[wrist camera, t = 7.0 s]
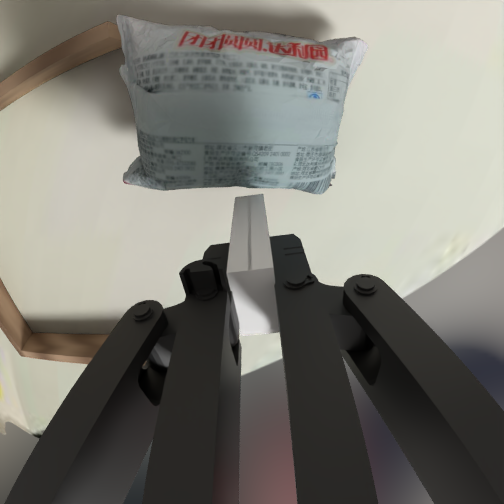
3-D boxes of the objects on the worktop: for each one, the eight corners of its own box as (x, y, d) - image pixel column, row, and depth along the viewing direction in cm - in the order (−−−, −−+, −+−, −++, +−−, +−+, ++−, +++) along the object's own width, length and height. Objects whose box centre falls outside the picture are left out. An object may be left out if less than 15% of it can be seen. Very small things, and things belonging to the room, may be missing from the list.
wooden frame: (31, 338, 26) (21, 356, 23) (-52, 143, 14) (-73, 152, 11) (205, 339, 24) (201, 366, 22) (129, 30, 12) (107, 21, 10)
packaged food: (130, 18, 10) (105, 9, 6) (350, 40, 12) (405, 50, 9) (130, 168, 15) (114, 215, 12) (322, 169, 18) (358, 211, 14)
